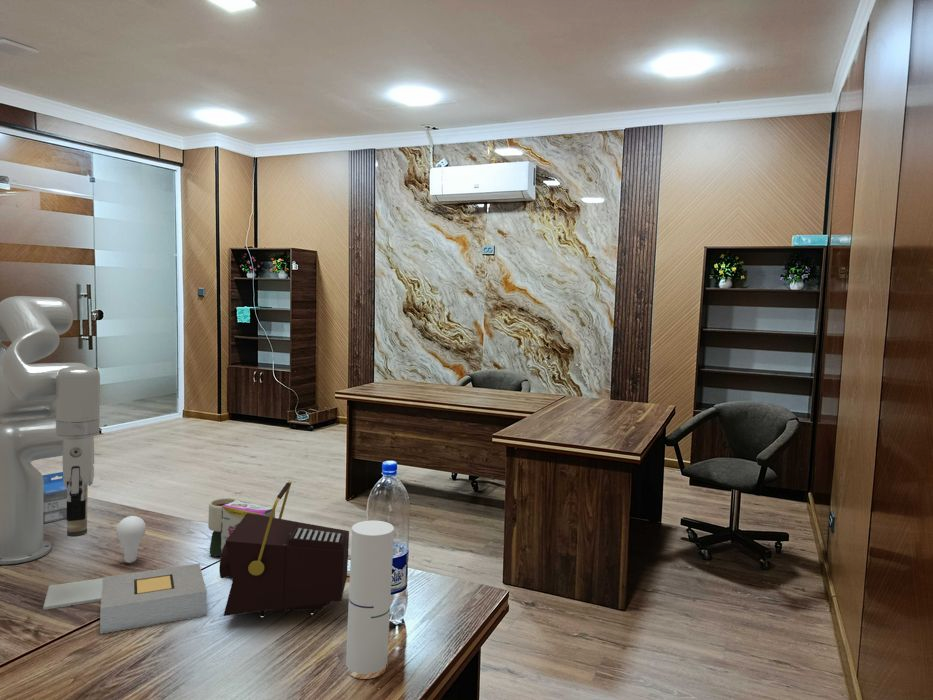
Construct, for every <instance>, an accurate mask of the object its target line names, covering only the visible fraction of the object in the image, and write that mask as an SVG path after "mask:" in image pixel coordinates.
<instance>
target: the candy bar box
mask: <svg viewBox="0 0 933 700" xmlns="http://www.w3.org/2000/svg"><path fill="white" fill-rule="evenodd" d="M238 500H239V499H238ZM238 500H235V501H232V502H230V503H228V504H225V505H223V506H222V525H221V553H222V550H223V547H224V545H225V543H226V540H227V538H228V537H229V536H230V534H231V533H232V532H233V531H234V529H235V528H236V527H237V526H238V524H239V523H240V522H241V520H242V519H243V518H244V517H245V515H246V514H247V513H250V514H256V515H261V516H267V517H270V515H271V511H272V508H273V506H272V507H271V506H267V505H262V504H258V503H257V504H255V503H250V502H247V501H241V500H240V501H238ZM273 518H276V510H275V511H274V515H273ZM229 578H231V579H232V576H230V577H229Z"/></svg>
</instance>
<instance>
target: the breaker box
mask: <svg viewBox="0 0 933 700" xmlns="http://www.w3.org/2000/svg"><path fill="white" fill-rule="evenodd" d="M165 576H170V580H171V587H172V589H168V590H162V591H155V592H149V593H142V594H137V580H144V579H151V578H158V577H165ZM102 578H103V584H102V596H101V601H100V608H99V609H100V613H99V615H100V616H99V619H100V620H99V622H100V623H99V635H104V634H103V633H106V634H109V633H108V632H112V633H115V632H114V631H117V632H122V631H121V630H123V631H127V630H126V629H129V630H133V629H139V627H140V628H145V626H146V627H149V626H150V625H151V626H155V625H154V624H157V625H160V624H159V623H162V624H166V623H165V622H168V623H172V622H171V621H174V622H178V621H177V620H179V621H182V620H181V619H185V620H189V619H188V618H191V619H195V618H194V617H196V618H200V617H199V616H202V617H205V616H204V615H206V616H207V593H208V592H207V588H206V584H205V579H204V576H203V572H202V568H201V565H200V563H195V564H188V565H187V564H186V565H180V566H173V567H164V568H157V569H153V570H152V569H151V570H150V569H149V570H144V571H143V570H142V571H136V572H130V573H123V574H114V575H109V576H103V577H102ZM132 628H133V629H132ZM119 630H120V631H119Z"/></svg>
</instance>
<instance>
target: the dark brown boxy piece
mask: <svg viewBox="0 0 933 700" xmlns="http://www.w3.org/2000/svg"><path fill="white" fill-rule="evenodd" d="M291 485H292V481H290V480H289V481H288V482H286V483H285V485H284V486H283V487H282V488H281V490H280V492H279V493H278V495H277V496H276V499H275V501H274V502H273V505H272V511H271V515H270V517H267V516H261V515H256V514H250V513H247V514H246V515H245V517H244V518H243V519H242V520H241V522H240V523H239V524H238V526H237V527H236V528H235V529H234V531H233V532H232V533H231V534H230V536H229V537H228V538H227V540H226V543H225V545H224V547H223V550H222V553H221V556H220V559H219V568H218V569H219V576H220V577H219V578H220V579H225V578H230V576H232V578H231V585H230V589H229V592H228V596H227V601H226V604H225V607H224V611H223V615H222V617H226V616H227V617H228V616H234V615H243V614H251V613H258V612H259V617H260V616H264V615H266V612H271V611H273V612H274V611H275V612H278V611H279V612H280V611H282V612H283V611H309V614H310V613H314V614H315V611H321V610H322V609H324V608H325V607H326V606H328V605H329V604H331V603H337V602H342V599H343V595H344V590H345V586H346V581H347V578H348V566H349V547H350V546H349V545H350V543H349V542H350V531H349V530H345V529H340V528H335V527H328V526H323V525H317V524H311V523H307V522H306V523H304V522H300V521H296V520H295V521H294V520H289V519H285V518H284V519H283V513H284V510H285V506H286V504H287V499H288V497H289V491H290V489H291ZM283 497H284V498H283ZM282 498H283V501H282V506H281V509H280V512H279V516H278V518H277V517H275V518H273V515H274V511H275V512H276V508H277V505H278V503H279V501H280V500H281V499H282ZM264 617H265V616H264Z"/></svg>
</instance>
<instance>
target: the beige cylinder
mask: <svg viewBox="0 0 933 700" xmlns="http://www.w3.org/2000/svg"><path fill="white" fill-rule="evenodd" d="M79 485H82V482H79ZM71 486H72V483H71ZM88 488H89V486H88V485H85V487H84V500H85V499H86V517H85V519H84V520H76V521H67V520H66V536H67V537H70V538H71V537H75V538H77V537H82V536H85V535H86V534H88V491H89V489H88ZM79 490H81V489H79ZM67 501H68V487H67Z"/></svg>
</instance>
